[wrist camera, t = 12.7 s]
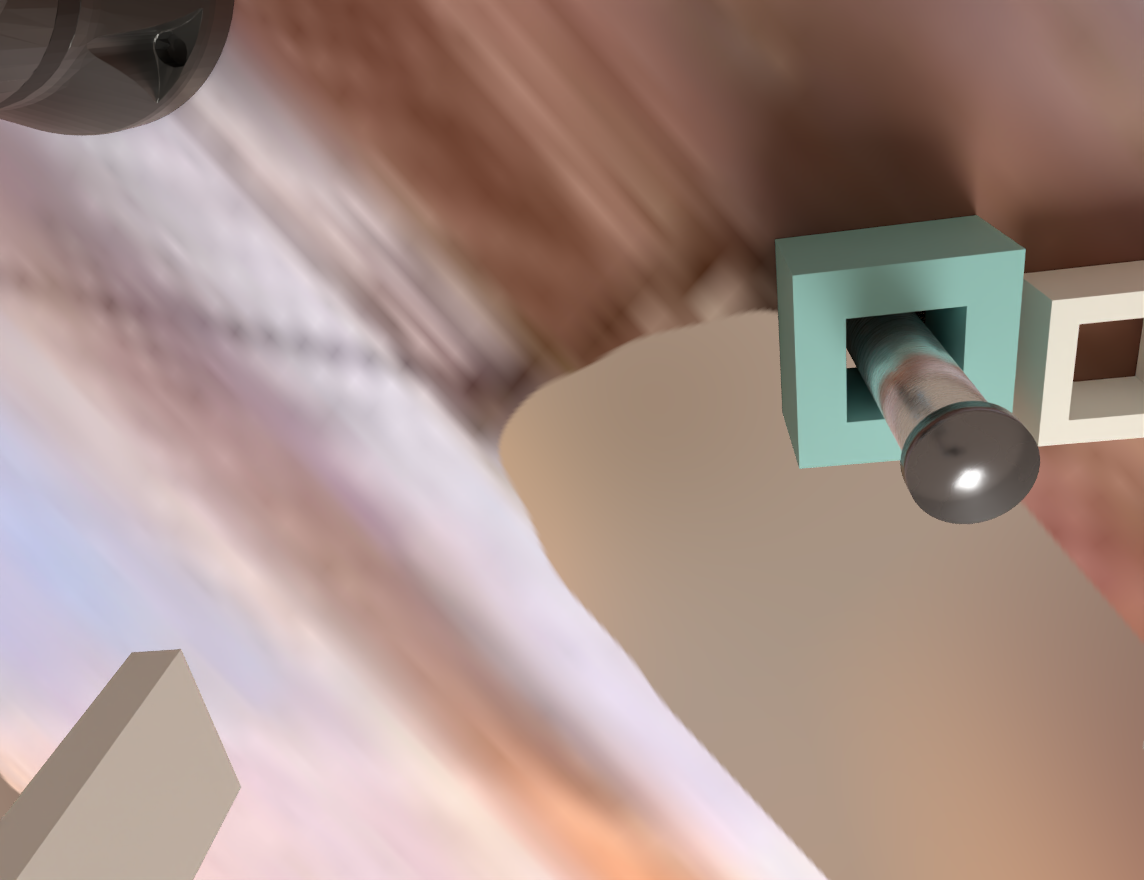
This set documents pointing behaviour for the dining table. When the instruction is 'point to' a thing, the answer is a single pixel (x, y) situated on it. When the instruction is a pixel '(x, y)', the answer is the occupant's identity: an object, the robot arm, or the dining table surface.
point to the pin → (942, 422)
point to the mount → (1050, 352)
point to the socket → (879, 287)
